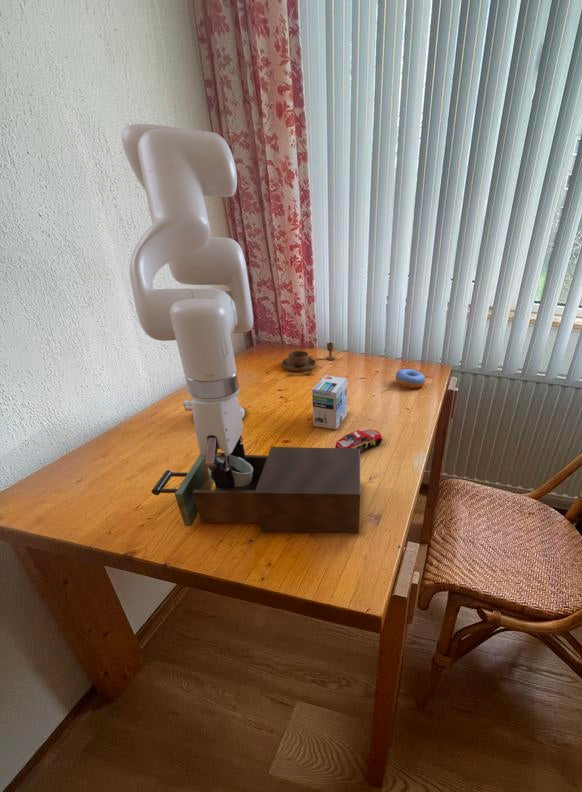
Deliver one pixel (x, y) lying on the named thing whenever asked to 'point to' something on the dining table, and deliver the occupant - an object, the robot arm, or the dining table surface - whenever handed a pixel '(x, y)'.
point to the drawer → (214, 494)
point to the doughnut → (410, 378)
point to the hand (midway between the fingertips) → (231, 473)
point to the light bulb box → (329, 402)
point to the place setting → (303, 361)
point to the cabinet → (309, 491)
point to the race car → (360, 440)
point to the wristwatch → (240, 465)
